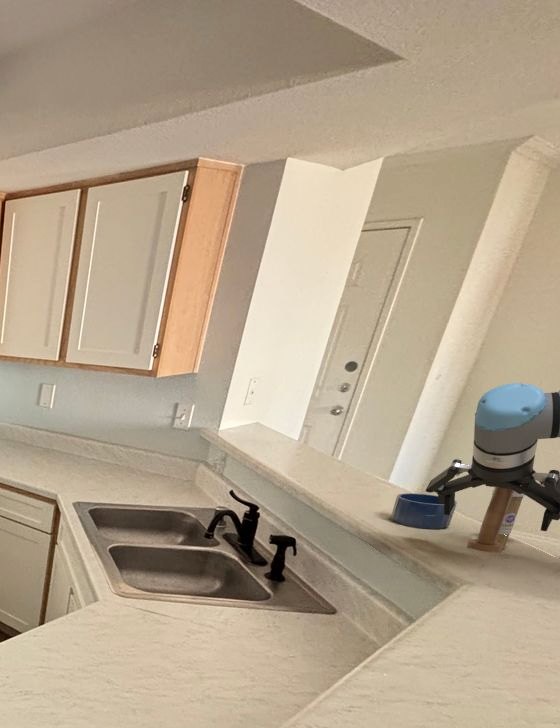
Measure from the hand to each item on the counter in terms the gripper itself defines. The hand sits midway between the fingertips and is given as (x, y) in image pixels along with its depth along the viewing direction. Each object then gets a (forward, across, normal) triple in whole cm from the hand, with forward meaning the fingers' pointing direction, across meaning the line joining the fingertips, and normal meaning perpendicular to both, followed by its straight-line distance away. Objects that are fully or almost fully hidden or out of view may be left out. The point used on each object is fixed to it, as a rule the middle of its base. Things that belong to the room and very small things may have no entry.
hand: (495, 517), depth 118 cm
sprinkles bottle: (+11, 0, -1) cm, 11 cm away
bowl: (+17, -14, +6) cm, 23 cm away
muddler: (+4, 0, -7) cm, 8 cm away
